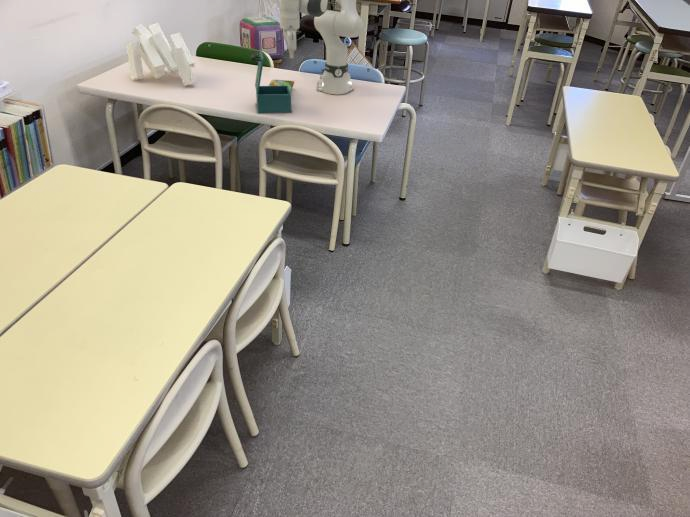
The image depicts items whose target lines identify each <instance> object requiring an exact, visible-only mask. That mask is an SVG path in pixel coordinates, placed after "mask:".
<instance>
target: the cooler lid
mask: <svg viewBox="0 0 690 517" xmlns="http://www.w3.org/2000/svg"><path fill="white" fill-rule="evenodd" d="M250 58H251V61H252V62H256V61H257V68H256V77H255V82H254V86H255V94H256V93H257V94H259V87H260V86H261V80H262V74H263V67H264V62H265V61H264V60H265V59H264V54H263V51H262V50H259V56H258V55H255V54H254V53H252V54H250Z"/></svg>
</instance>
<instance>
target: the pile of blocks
mask: <svg viewBox="0 0 690 517" xmlns="http://www.w3.org/2000/svg"><path fill="white" fill-rule="evenodd" d="M131 33H132V34H133V35H134V36H135V37H136V38H137V39H138V41H139V42H138V41H137V42H136V41H129V42H127V43H125V46H126V47H125V48H126V53H127V60H128V66H129V73H130V78H131V80H141V79H144V78H145V76H144V70H143V64H142V61H143V62H144V64H145V66H146V67H147V68H148V70H149V71H150V73H151V75H152V76H153V77H154V79H155V80H158V79H159V78H160V77H162V76H164V75H165V74H167V71H168V72H170V73H171V75H172V76H173V77H174V76H177V75H179V76H180V78H181V81H182V84H183V86H184V87H185V86H189V85H191V84H195V83H196V79H195V77H194V73H193V72H192V68H194V67H195V66H196V62H195V60H194V58H193V56H192V54H191V52H190V50H189V48H188V46H187V44H186V42H185V40H184V38H183V36H182V34H181V32H180V31H179V32H175V33H174V34H170V35H169V40H170V43H171V44H172V46H173V48H174V49H172V47H171V45H170V43H169V41H168V39H167V37H166V35H165V33H164V31H163V29H162V27H161V25H160V23H159V22H155V23H152V24H149V25H148V29H147V27H145V26H144V25H143V24H142V23H139V24H138V25H137V26H135V27H134V29H133V30H132V32H131ZM139 43H140V44H139ZM166 69H167V71H166Z"/></svg>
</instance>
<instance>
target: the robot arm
mask: <svg viewBox="0 0 690 517" xmlns="http://www.w3.org/2000/svg"><path fill="white" fill-rule="evenodd" d="M278 2H279V3H278V4H279V5H278V6H279V9H280V12H279V28H280V29H282V33H283V34H282V35H283V38H284V40H285V44H286V51H287V53H288V54H289V59H294V56H295V55H294V54H295V51H297V46H298V45H297V32H298V30H299V29H300V26H301V25H300V24H301V21H300V20H301V19H300V18H301V17H300V13H301V14H305V15H310V16H313V17H314V19H313V25H314V28H315V30H316V31H317V32H318V33H319V34H320V36H321V38H322V39H323V42H324V46H325V57H324V58H323V60H325V63H324V67H325V69H324V70H323V69H322V74H320V75H319V80H318V84H317V85H318V87H317V91H318V92H321V93H322V92H323V93H325V94H329V95H345V94H347V93H349V92H351V91H354V88H353V87H352V86H351V85H352V82H351V74H350V73H349V72H348V71H349V63H348V56H349V49H348V47H347V45H346V44H345V43H344V42H343V41H342V39H341V38H340V37H343V38H348V39H350V38H351V39H352V38H358V37H359V36H360V35H361V34H362V32H363V30H364V22H363V20H362V17H361V16H360V15H359V13H358V10H357V0H335V2H336V4H338V5H339V6H340V11H337V10H330V9H328V6H329V0H279V1H278Z"/></svg>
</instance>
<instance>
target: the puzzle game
mask: <svg viewBox="0 0 690 517" xmlns="http://www.w3.org/2000/svg"><path fill="white" fill-rule="evenodd" d="M294 84H295V80H284V79H273V78H272V79H271V81H270V83H269V84H268V86H288V87H289V90H290V93H291V92H292V89H293V87H294Z"/></svg>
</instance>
